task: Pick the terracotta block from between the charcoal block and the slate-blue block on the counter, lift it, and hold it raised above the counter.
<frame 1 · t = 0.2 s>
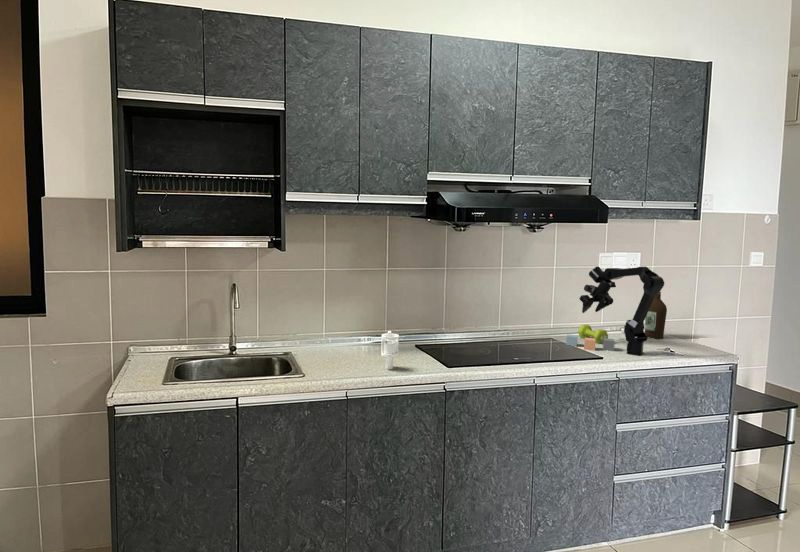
hand: (589, 312, 310), 15 cm above the worktop, tool tilted 30°, fingers open, 9 cm apart
olive oil: (653, 337, 324), on the worktop
slate block: (571, 345, 299), on the worktop
dumbbell: (592, 341, 311), on the worktop
terracotta block: (589, 349, 292), on the worktop
clear stepped cylinder: (389, 368, 247), on the worktop
charcoal block: (608, 349, 292), on the worktop
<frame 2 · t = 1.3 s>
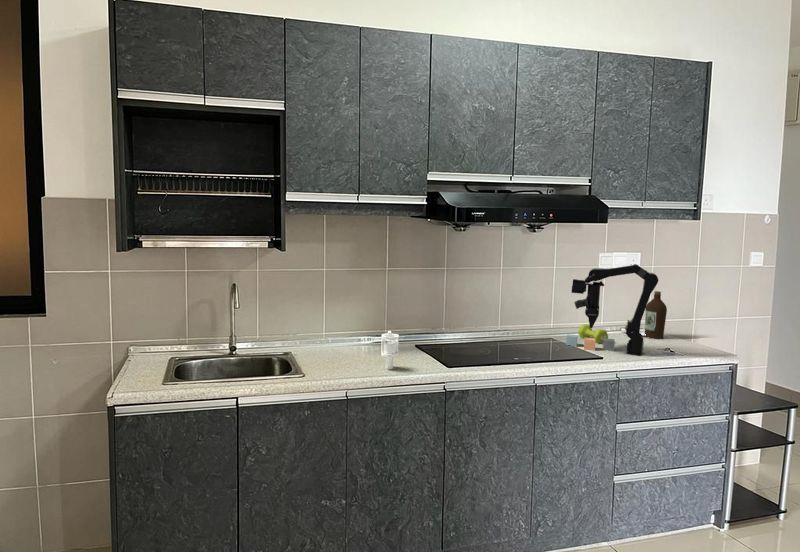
hand: (591, 326, 291), 11 cm above the worktop, tool pointing down, fingers open, 9 cm apart
nothing on the worktop moved.
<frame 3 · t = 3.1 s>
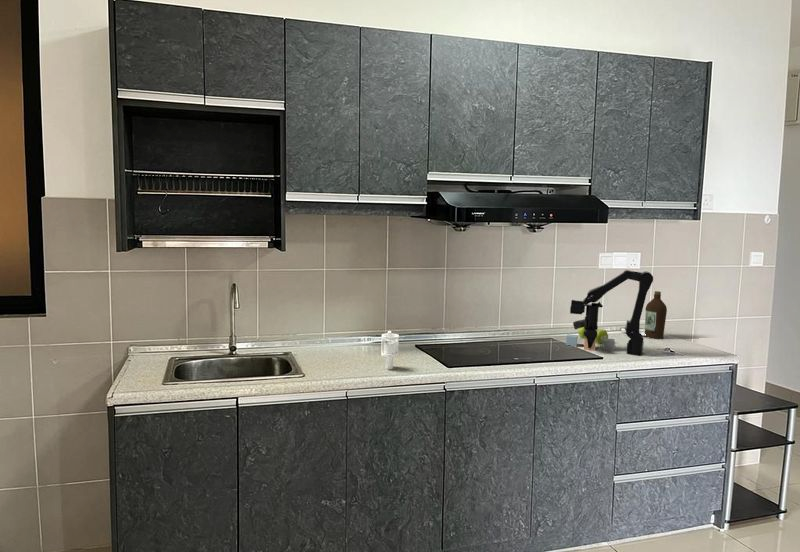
hand: (589, 346, 292), 1 cm above the worktop, tool pointing down, fingers closed on terracotta block, 5 cm apart
terracotta block: (589, 348, 292), on the worktop, touching gripper
everything else where it was.
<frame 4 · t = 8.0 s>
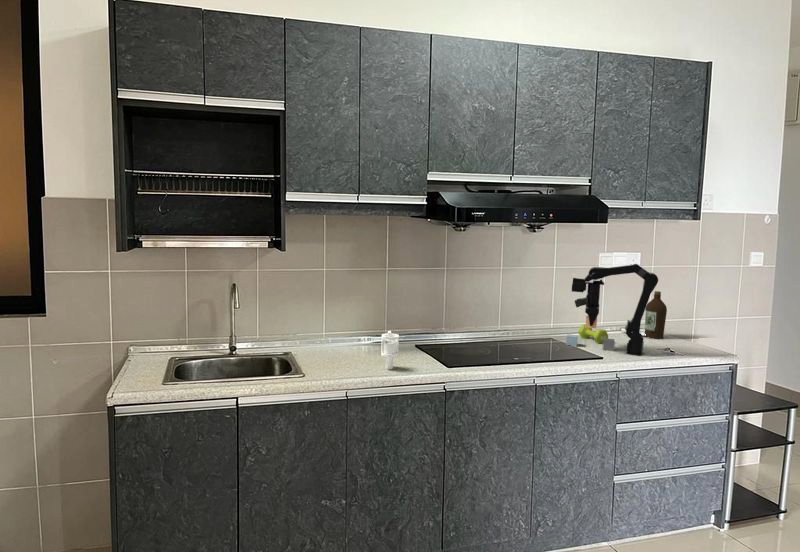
hand: (591, 324, 290), 12 cm above the worktop, tool pointing down, fingers closed on terracotta block, 5 cm apart
terracotta block: (590, 327, 291), point 11 cm above the worktop, touching gripper
everything else where it was.
at the end: terracotta block point 10.9 cm above the worktop; charcoal block moved 0.1 cm from its start; slate block moved 0.1 cm from its start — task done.
